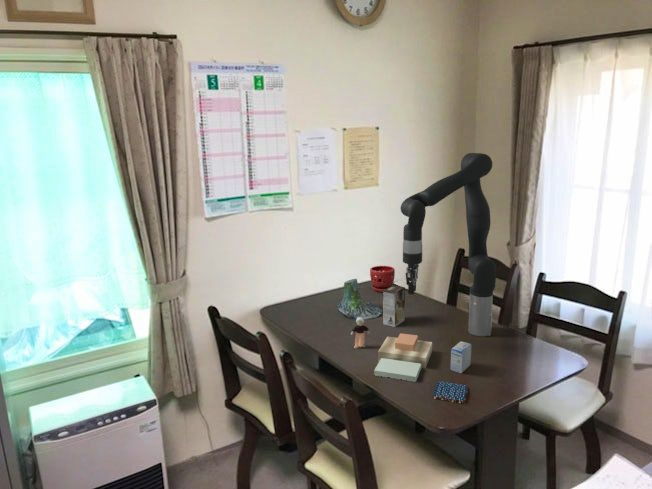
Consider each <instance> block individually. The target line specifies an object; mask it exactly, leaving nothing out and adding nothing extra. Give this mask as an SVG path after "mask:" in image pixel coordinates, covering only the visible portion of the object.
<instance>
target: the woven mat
mask: <svg viewBox="0 0 652 489" xmlns="http://www.w3.org/2000/svg"><path fill="white" fill-rule="evenodd" d="M434 387H435V388H434V391H433V393H432V398H433V399H434V400H438V398H439V399H440V400H441V401H442V400H443V401H445V400H447V401H450V402H451V403H456V401H457V403H458V404H461V403H463V402H465V403H466V402H467V398H468V393H469V392H468V391H469V387H468V384H467V385H466V384H465V385H464V384H459V383H455V382H454V383H452V382H446V381H441V380H440V381H437V382H436V386H434Z"/></svg>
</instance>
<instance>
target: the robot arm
mask: <svg viewBox="0 0 652 489" xmlns="http://www.w3.org/2000/svg"><path fill="white" fill-rule="evenodd" d="M492 168H493V160H492V158H491V157H490V155H488V154H486V153H481V152H477V153H476V152H469V153H468V152H467V153H466V154H465V155H464V156H463V157H462V159H461V162H460V170H459V171H457V172H455V173H453V174H451V175H448V176H446V177H443V178H441V179H439V180H437V181H436V182H434V183H432V184H431V185H428V187H426V188H425V189H423V190H422V191H420V192H417V193H415V194H412V195H411V196H409V197H406V198H405V199H404V200H403V201H402V202H401V205H400V212H401V214H402V215H404V216H405V217H407V218H408V220H407V223H406V224H405V225H404V226H403V234H402V236H403V240H402V263H404V264H406V265H407V267H406V269H405V270H406V271H405V280H406V286H407V288H408V289H407V292H408V293H407V294H408V295H414V294H415V292H416V291H417V281H418V278H419V267H420V265H419V264H422V262H423V226H424V222H425V219H426V212H427V211H426V207H433V206H435V205H437V204H438V203H439V202H441V201H442V200H444V199H445V198H447V197H448V196H451V194H453V193H455V192H457V191H458V190H459V189H461V188H463V189H464V200H465V201H464V202H465V218H466V226H467V227H466V228H467V229H466V230H467V238H468V265H467V266H468V267H467V268H468V269H469V272H470V273H471V274H472V275H473V280H472V281H473V284H472V285H470V286H469V287H470V288H469V302H468V304H469V306H468V326H467V329H468V330H467V332H468V333H469V334H470V335H473V336H476V337H487V336H488V337H491V335H492V324H493V300H494V299H493V298H494V291H495V288H496V280H497V265H496V263H495V261H494V260H493V259H491V258H489V255H488V250H487V247H488V246H487V240H488V236H489V233H490V228H491V210H490V206H489V203H488V201H487V199H486V197H485V194H484V191H483V190H482V189H483V188H482V186H481V178H483V177H485V176H487V175H488V174H489V173H490V172H491V170H492Z"/></svg>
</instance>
